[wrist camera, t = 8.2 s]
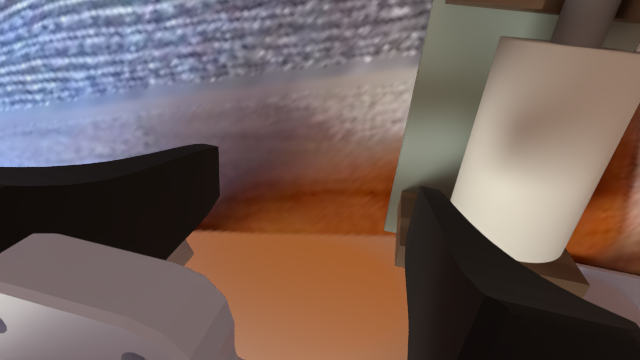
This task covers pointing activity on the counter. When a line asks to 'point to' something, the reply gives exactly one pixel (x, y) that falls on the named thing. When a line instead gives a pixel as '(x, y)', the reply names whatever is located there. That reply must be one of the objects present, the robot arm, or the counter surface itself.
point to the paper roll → (547, 132)
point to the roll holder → (474, 101)
